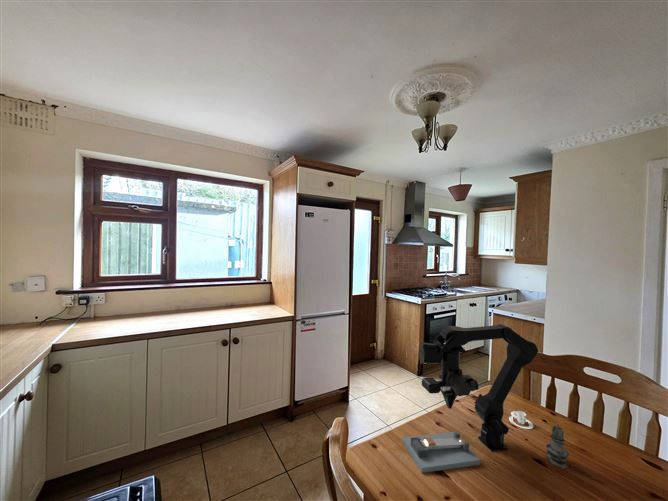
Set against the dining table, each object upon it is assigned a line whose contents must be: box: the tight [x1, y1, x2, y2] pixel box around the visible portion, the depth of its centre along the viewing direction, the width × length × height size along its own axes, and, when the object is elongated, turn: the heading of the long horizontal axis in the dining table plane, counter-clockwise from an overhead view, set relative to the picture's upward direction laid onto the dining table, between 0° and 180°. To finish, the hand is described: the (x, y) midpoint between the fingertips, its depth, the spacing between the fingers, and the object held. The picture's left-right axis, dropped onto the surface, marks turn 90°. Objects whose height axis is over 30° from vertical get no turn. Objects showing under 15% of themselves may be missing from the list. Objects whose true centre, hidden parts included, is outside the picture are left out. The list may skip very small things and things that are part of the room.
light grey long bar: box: [419, 436, 465, 449], centre depth 88 cm, size 15×3×2 cm, turn 100°
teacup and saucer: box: [508, 410, 534, 430], centre depth 105 cm, size 9×8×4 cm
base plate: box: [402, 431, 481, 474], centre depth 88 cm, size 20×13×4 cm, turn 100°
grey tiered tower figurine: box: [545, 423, 570, 469], centre depth 85 cm, size 6×6×12 cm
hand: (449, 407), depth 93 cm, fingers closed
